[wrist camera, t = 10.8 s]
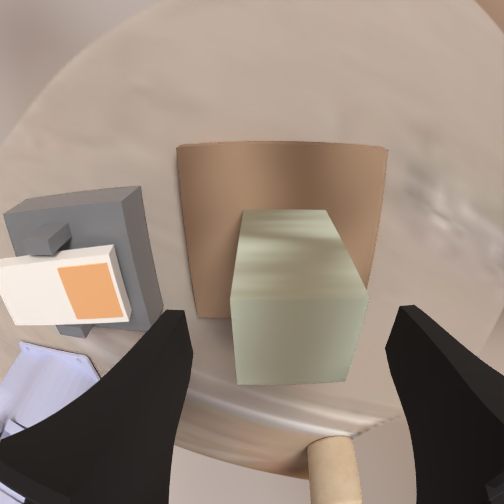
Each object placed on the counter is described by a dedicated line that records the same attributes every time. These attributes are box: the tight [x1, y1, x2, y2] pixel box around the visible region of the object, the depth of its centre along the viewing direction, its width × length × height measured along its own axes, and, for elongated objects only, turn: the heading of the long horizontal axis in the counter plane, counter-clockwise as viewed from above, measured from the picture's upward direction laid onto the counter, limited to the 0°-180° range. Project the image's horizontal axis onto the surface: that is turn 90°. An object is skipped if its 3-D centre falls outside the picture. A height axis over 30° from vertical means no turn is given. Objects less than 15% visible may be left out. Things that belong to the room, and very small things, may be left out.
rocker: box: [0, 244, 132, 325], centre depth 13 cm, size 8×4×1 cm, turn 91°
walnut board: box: [176, 141, 388, 318], centre depth 16 cm, size 10×10×1 cm
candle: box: [307, 436, 362, 504], centre depth 24 cm, size 6×6×10 cm
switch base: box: [3, 186, 163, 338], centre depth 15 cm, size 9×8×4 cm
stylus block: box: [230, 209, 370, 385], centre depth 12 cm, size 4×4×7 cm
